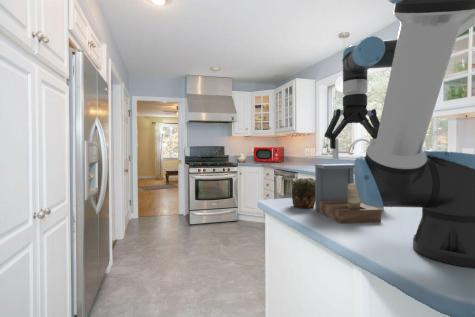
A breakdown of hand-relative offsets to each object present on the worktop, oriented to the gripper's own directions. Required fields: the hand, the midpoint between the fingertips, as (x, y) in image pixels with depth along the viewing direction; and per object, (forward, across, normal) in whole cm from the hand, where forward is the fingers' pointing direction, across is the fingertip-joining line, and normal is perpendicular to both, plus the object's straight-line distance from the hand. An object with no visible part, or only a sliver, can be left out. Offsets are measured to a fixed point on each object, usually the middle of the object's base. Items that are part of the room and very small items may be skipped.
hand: (354, 158), depth 90 cm
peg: (+21, 0, 0) cm, 21 cm away
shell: (+21, +9, -22) cm, 32 cm away
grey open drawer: (+21, 0, -11) cm, 23 cm away
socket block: (+21, 0, -5) cm, 21 cm away
